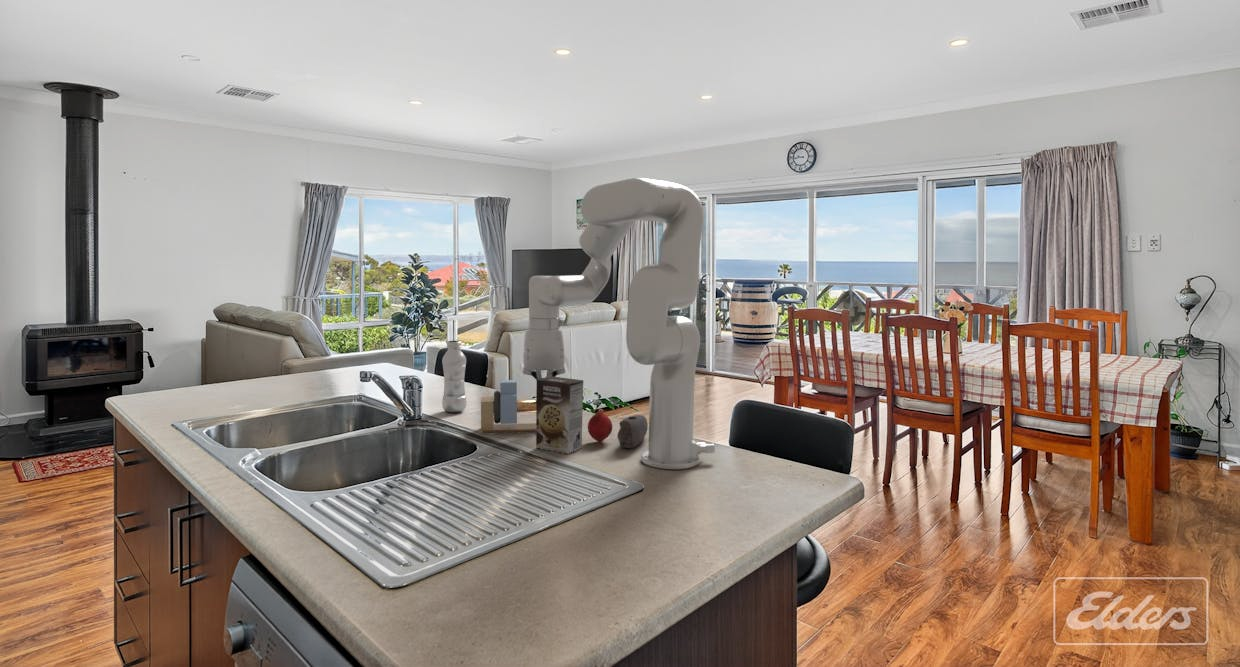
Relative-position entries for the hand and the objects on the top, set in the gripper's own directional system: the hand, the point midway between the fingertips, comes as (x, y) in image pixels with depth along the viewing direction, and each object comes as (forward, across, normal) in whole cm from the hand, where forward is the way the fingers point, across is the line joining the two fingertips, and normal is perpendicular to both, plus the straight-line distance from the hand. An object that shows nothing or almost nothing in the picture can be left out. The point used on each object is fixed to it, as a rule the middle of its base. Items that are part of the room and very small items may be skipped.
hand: (544, 396), depth 171 cm
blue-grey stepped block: (+6, +9, 0) cm, 11 cm away
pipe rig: (+8, +8, 0) cm, 11 cm away
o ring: (+6, +12, 0) cm, 13 cm away
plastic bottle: (+8, +24, -22) cm, 33 cm away
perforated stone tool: (+9, -20, +16) cm, 27 cm away
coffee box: (+9, -2, +18) cm, 20 cm away
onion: (+9, -12, +14) cm, 21 cm away
